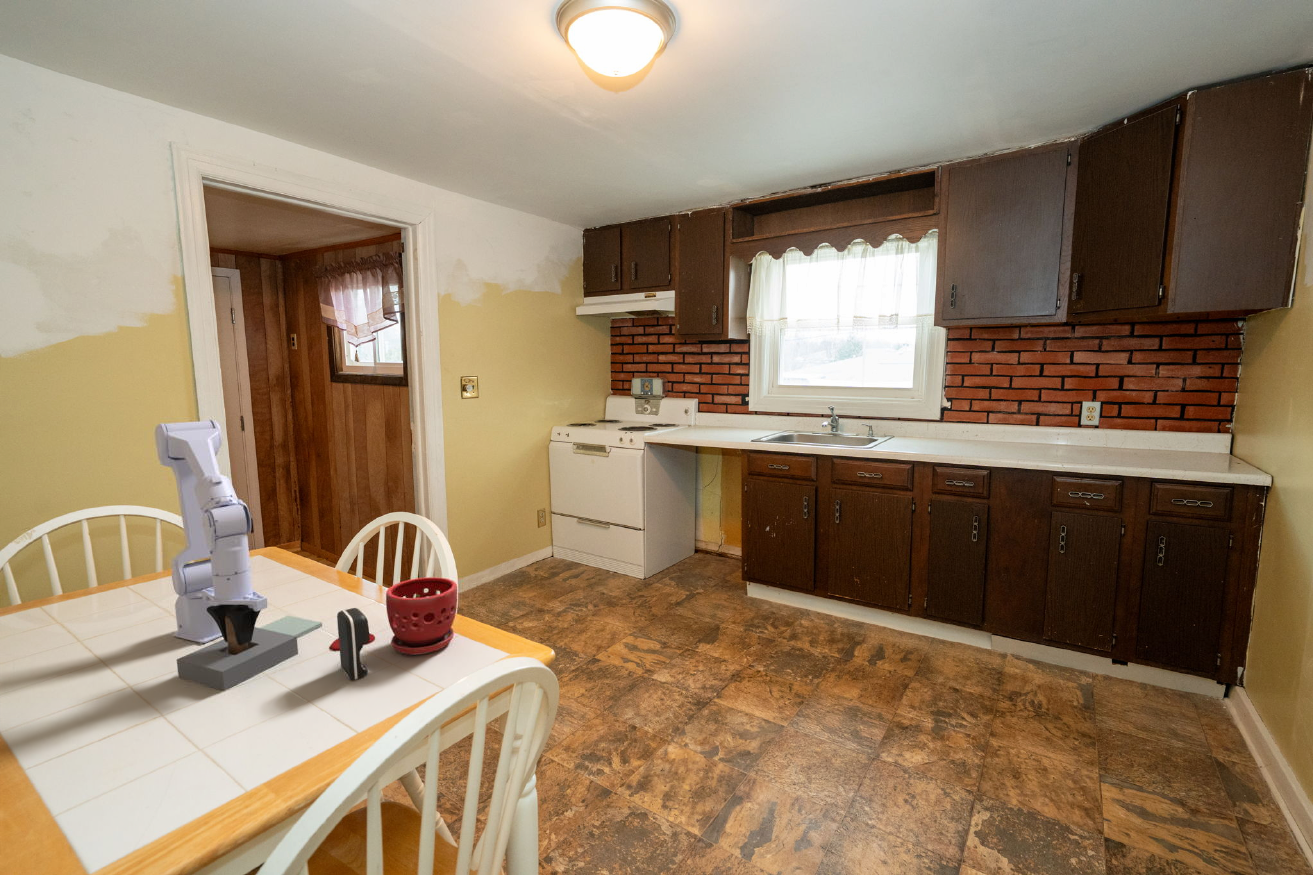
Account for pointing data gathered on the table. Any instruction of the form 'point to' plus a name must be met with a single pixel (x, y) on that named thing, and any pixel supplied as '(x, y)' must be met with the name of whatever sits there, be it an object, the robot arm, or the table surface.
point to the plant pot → (421, 614)
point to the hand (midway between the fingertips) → (238, 641)
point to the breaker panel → (236, 660)
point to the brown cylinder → (233, 639)
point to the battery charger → (352, 641)
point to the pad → (293, 626)
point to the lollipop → (336, 647)
